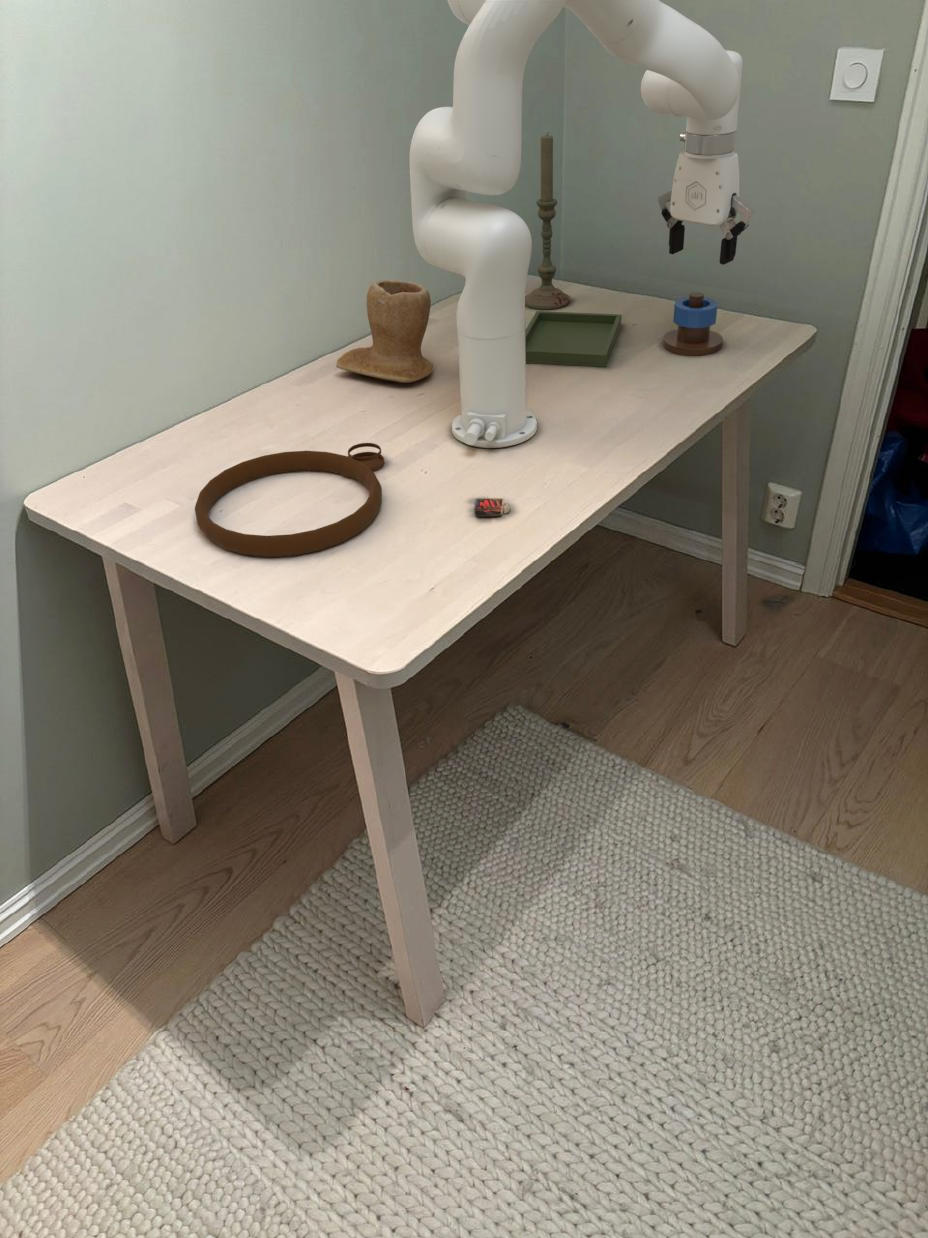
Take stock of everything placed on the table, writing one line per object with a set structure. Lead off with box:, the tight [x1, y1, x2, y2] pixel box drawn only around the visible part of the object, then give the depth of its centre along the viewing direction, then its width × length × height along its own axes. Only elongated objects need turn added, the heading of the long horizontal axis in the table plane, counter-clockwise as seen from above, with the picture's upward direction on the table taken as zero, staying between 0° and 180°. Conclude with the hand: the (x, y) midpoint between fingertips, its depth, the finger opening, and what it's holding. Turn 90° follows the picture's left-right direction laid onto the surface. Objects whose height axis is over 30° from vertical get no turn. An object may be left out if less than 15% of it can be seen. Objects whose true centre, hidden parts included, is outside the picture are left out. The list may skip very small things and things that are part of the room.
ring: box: [672, 296, 719, 328], centre depth 169 cm, size 7×7×3 cm
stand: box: [662, 291, 724, 357], centre depth 170 cm, size 10×10×9 cm
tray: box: [525, 310, 623, 368], centre depth 175 cm, size 20×16×2 cm
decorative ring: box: [194, 442, 386, 558], centre depth 133 cm, size 24×3×30 cm
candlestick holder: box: [525, 131, 571, 311], centre depth 185 cm, size 9×9×30 cm
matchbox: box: [473, 496, 511, 517], centre depth 130 cm, size 5×5×1 cm
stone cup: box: [335, 279, 435, 384], centre depth 165 cm, size 15×12×15 cm
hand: (700, 256), depth 164 cm, fingers open, 9 cm apart
